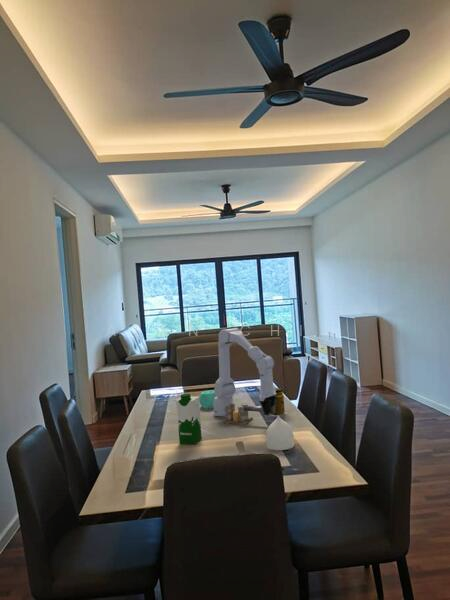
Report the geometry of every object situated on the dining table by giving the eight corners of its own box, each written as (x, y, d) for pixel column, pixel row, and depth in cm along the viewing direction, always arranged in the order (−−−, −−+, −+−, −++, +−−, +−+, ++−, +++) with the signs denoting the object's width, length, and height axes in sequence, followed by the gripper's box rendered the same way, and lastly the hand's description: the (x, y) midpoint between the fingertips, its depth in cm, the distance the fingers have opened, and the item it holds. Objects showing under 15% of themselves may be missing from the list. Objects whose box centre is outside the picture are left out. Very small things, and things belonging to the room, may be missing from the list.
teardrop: (275, 438, 178) (273, 409, 177) (299, 443, 171) (297, 412, 170) (260, 447, 169) (258, 416, 169) (284, 452, 162) (282, 420, 162)
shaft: (242, 413, 202) (242, 405, 202) (246, 411, 205) (245, 403, 205) (272, 415, 195) (271, 407, 195) (275, 413, 198) (275, 404, 198)
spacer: (233, 422, 204) (232, 412, 204) (236, 419, 209) (236, 409, 209) (238, 423, 203) (237, 412, 203) (241, 420, 208) (240, 409, 208)
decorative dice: (210, 409, 232) (209, 394, 232) (199, 407, 237) (198, 392, 237) (220, 405, 238) (219, 390, 238) (208, 404, 243) (207, 389, 243)
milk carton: (176, 444, 179) (173, 395, 179) (185, 437, 187) (182, 390, 187) (196, 445, 176) (192, 396, 176) (204, 438, 184) (201, 391, 184)
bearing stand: (223, 423, 204) (222, 407, 204) (233, 417, 213) (232, 402, 213) (243, 425, 199) (242, 408, 199) (252, 419, 207) (251, 403, 207)
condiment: (288, 413, 214) (286, 389, 214) (275, 417, 209) (273, 392, 209) (278, 410, 220) (277, 387, 220) (265, 414, 215) (263, 389, 215)
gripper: (268, 387, 189) (270, 418, 190) (281, 380, 202) (283, 409, 202) (253, 386, 193) (256, 417, 193) (267, 380, 206) (269, 408, 206)
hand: (268, 413), depth 198 cm, fingers closed on shaft, 4 cm apart
